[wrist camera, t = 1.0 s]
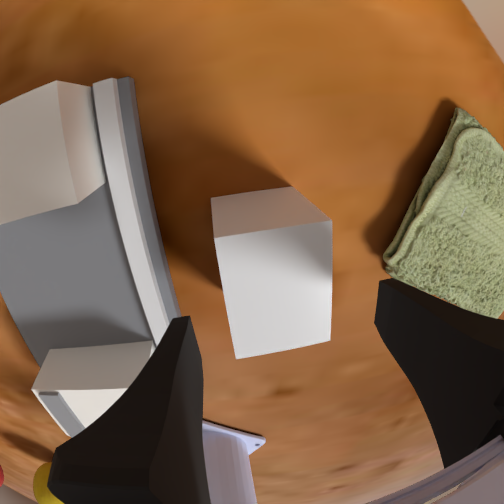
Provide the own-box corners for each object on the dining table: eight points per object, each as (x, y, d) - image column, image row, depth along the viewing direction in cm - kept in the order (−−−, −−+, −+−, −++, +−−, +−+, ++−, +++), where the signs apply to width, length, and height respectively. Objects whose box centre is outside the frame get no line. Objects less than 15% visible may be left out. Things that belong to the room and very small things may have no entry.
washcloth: (443, 97, 16) (476, 99, 14) (537, 206, 22) (559, 217, 19) (362, 264, 21) (384, 288, 18) (479, 316, 26) (498, 334, 23)
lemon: (83, 476, 28) (75, 526, 21) (43, 462, 27) (32, 511, 19) (80, 459, 26) (71, 516, 19) (37, 444, 25) (23, 499, 17)
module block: (297, 280, 20) (330, 340, 14) (226, 292, 19) (236, 359, 14) (292, 186, 17) (332, 220, 12) (210, 197, 17) (214, 238, 12)
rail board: (199, 376, 22) (202, 436, 17) (62, 386, 21) (45, 436, 16) (133, 78, 14) (101, 63, 9) (-32, 141, 13) (-89, 158, 8)
